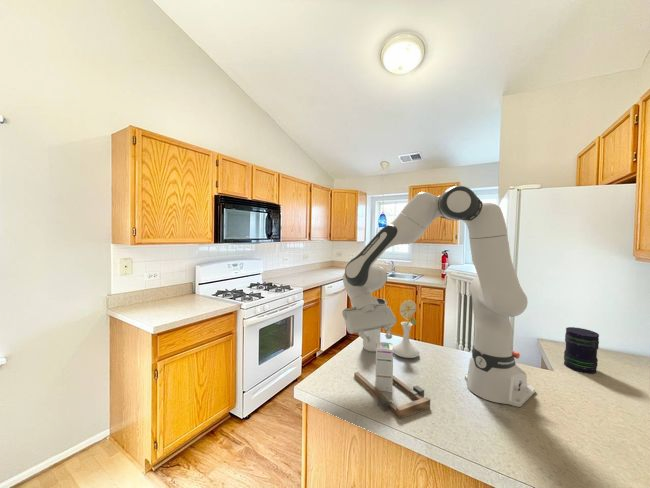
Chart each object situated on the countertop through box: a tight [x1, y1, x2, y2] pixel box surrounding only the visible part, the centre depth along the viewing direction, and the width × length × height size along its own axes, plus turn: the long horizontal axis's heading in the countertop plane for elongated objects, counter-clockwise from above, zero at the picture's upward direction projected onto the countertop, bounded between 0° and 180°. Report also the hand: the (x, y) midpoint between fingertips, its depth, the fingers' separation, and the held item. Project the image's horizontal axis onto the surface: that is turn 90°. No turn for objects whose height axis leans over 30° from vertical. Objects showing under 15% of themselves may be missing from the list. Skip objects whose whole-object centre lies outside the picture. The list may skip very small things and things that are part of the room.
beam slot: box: [354, 371, 431, 420], centre depth 91 cm, size 16×24×2 cm, turn 26°
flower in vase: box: [392, 299, 420, 359], centre depth 117 cm, size 13×11×25 cm
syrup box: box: [374, 341, 394, 393], centre depth 94 cm, size 6×6×14 cm
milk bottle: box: [362, 329, 381, 353], centre depth 124 cm, size 8×8×20 cm
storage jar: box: [563, 326, 600, 375], centre depth 109 cm, size 10×10×15 cm
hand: (379, 340), depth 96 cm, fingers open, 8 cm apart
